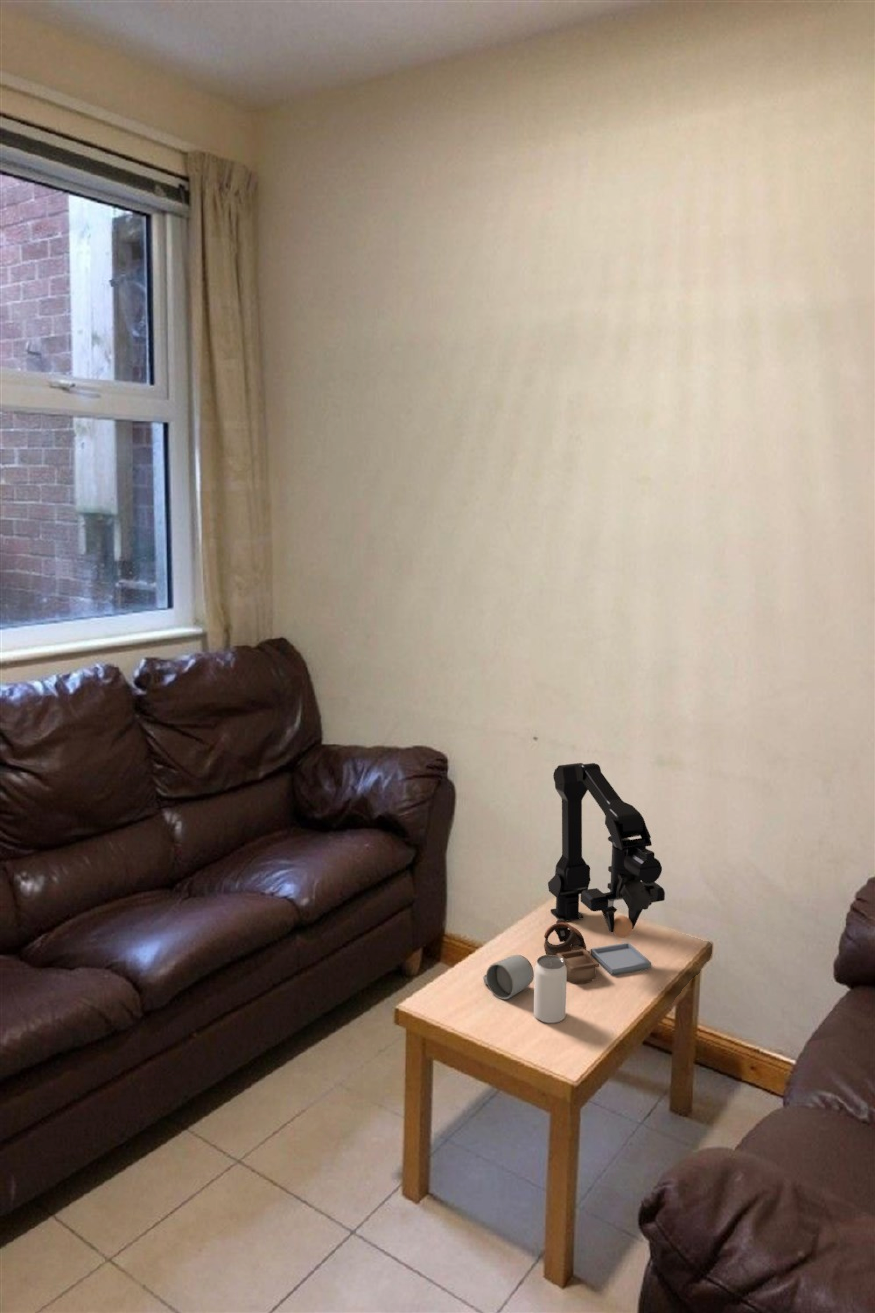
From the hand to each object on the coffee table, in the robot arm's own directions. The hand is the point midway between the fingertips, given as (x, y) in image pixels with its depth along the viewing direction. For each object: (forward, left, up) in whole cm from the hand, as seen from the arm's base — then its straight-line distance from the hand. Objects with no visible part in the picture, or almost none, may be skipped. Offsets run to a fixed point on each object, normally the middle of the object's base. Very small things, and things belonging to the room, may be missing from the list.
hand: (621, 930), depth 212 cm
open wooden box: (+2, -12, -8) cm, 14 cm away
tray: (0, 0, -8) cm, 8 cm away
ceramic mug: (+3, -30, -8) cm, 31 cm away
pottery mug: (-8, -10, -8) cm, 15 cm away
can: (+15, -25, -8) cm, 30 cm away
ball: (0, 0, +1) cm, 1 cm away
